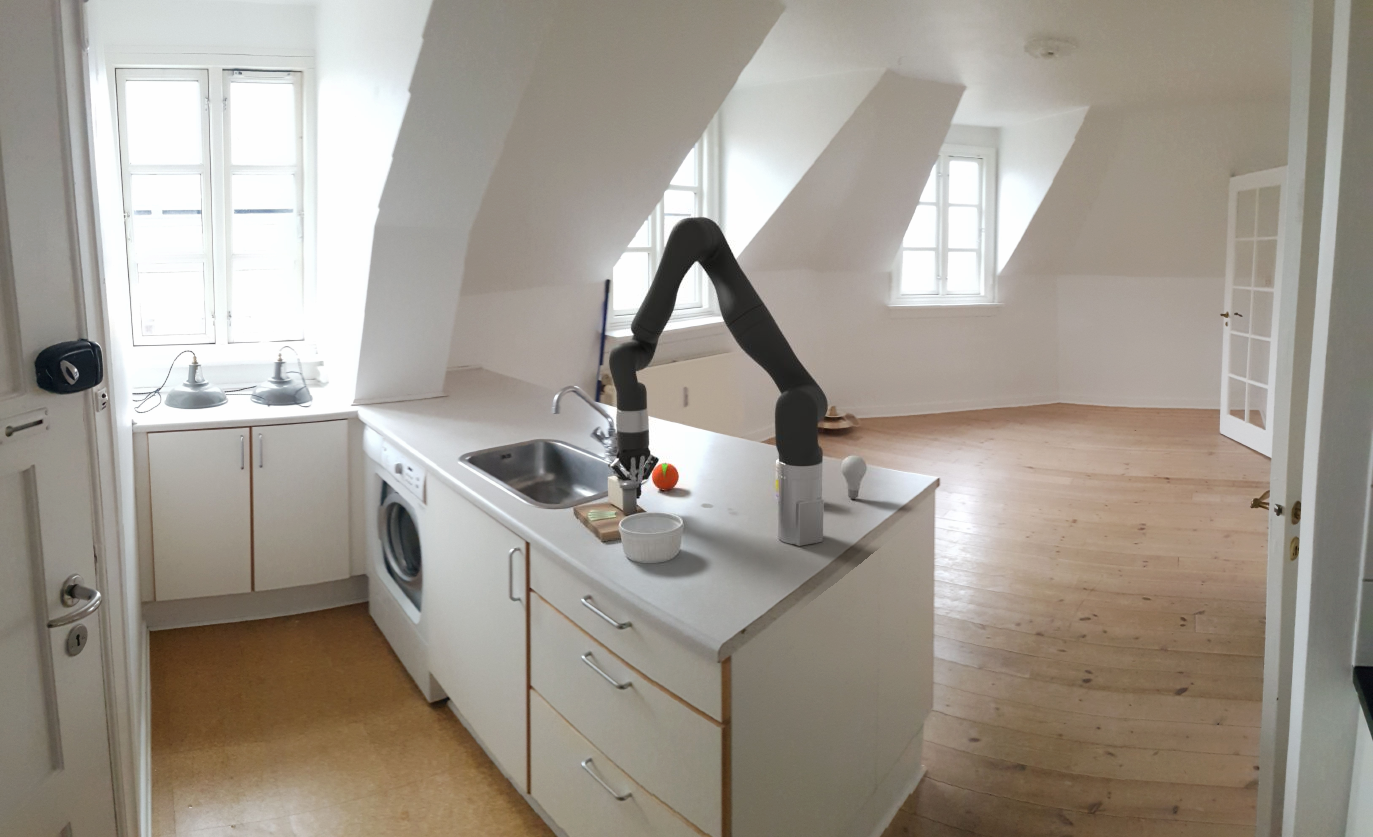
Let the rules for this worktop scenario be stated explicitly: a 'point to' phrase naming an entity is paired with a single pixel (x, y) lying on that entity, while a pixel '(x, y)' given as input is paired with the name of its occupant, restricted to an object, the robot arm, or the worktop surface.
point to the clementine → (665, 476)
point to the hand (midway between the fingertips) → (634, 498)
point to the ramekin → (651, 536)
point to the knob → (623, 494)
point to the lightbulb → (853, 474)
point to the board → (602, 519)
